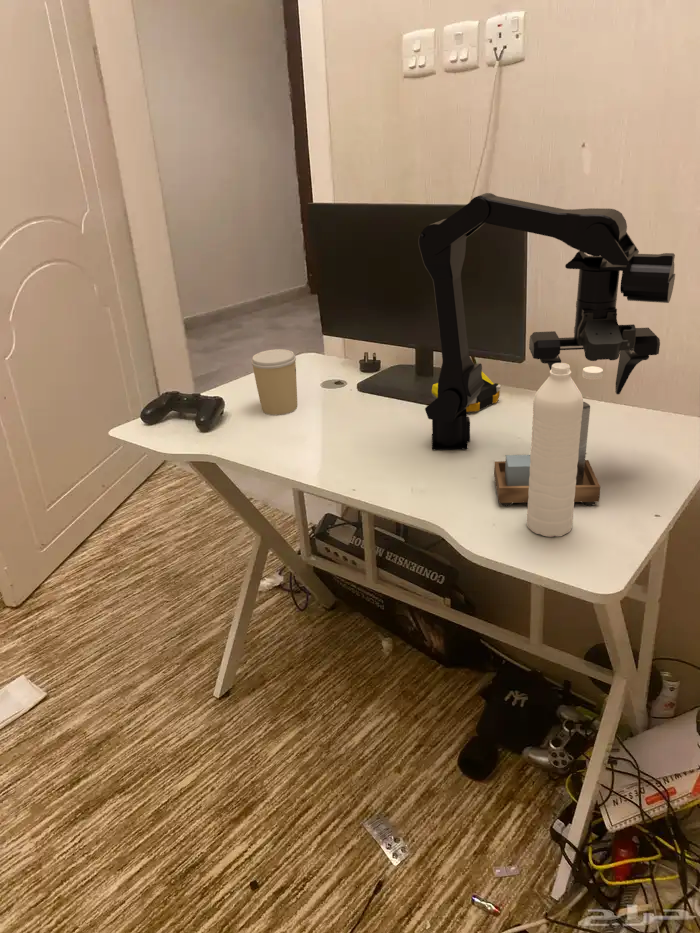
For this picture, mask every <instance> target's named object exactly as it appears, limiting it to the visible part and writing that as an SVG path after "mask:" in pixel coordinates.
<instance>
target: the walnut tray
mask: <svg viewBox="0 0 700 933" xmlns="http://www.w3.org/2000/svg"><path fill="white" fill-rule="evenodd" d="M505 462H506V460H503V461H502V460H501V461H500V460H499V461H497V460H496V461H495V460H494V462H493V464H494V468H493V473H494V474H493V476H494V482H495V488H496V493H497V499H498V503H499V505H500V506H502V507H510V506H513V503H519V504H520V503H528V498H529V496H528V491H529V486H507V485H506V480H505ZM593 469H594V468H592V465H591V462H590V461H589V460H588V459H585V467H584V477H583V485H576V486H575V498H574V503H582V504H583V505H584V506H589V507H591V506H595V505H596V503H598V502H600V494H601V485H600V482H599V481H598V478H597V476H596V474H595V472H594V470H593Z"/></svg>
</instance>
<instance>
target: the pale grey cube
mask: <svg viewBox="0 0 700 933" xmlns="http://www.w3.org/2000/svg"><path fill="white" fill-rule="evenodd" d="M505 461H506V462H505V480H506V485H507V486H529V477H530V463H531V461H530V454H506V455H505Z"/></svg>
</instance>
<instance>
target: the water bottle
mask: <svg viewBox="0 0 700 933" xmlns="http://www.w3.org/2000/svg"><path fill="white" fill-rule="evenodd" d="M570 368H571V366H570V364H568V363H565V362H561V363H555V364H553V365H552V368H551V370H550V369H549V374H550V375H549V376H548V377H547V379H546V380H544V382H543V383H542V385H541V386H540V387H539V388H538V390H536V392H535V394H534V398H533V403H532V404H533V405H532V427H531V430H532V431H531V444H530V446H531V448H530V454H529V455H530V461H531V463H530V477H529V491H528V496H529V498H528V502H527V513H526V525H527V527H528V529H529V530H530V531H531V532H532V533H534V534H536V535H542V536H543V537H547V538H548V537H549V538H553V537H562V536H564V535H566V534H569V533H570V531H571V530H572V529H573V519H574V508H575V502H574V498H575V486H576V476H577V464H578V454H579V442H580V431H581V420H582V411H583V402H584V398H583V394H582V392H581V391H580V389H579V388H578V386H577V384H576V383H575V381H574V379H572V376H571V373H572V370H571V369H570ZM603 374H604V370H603V368H602V367H599V366H586V367H584V368H582V378H584V379H586V380H594V381H595V380H601V379H602V378H603V376H604V375H603Z"/></svg>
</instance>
